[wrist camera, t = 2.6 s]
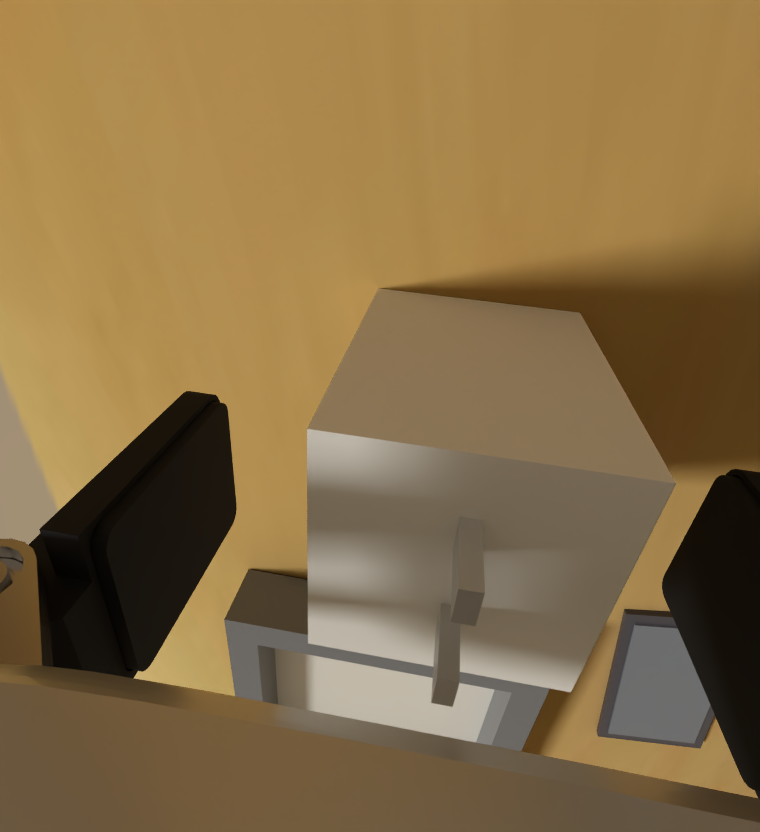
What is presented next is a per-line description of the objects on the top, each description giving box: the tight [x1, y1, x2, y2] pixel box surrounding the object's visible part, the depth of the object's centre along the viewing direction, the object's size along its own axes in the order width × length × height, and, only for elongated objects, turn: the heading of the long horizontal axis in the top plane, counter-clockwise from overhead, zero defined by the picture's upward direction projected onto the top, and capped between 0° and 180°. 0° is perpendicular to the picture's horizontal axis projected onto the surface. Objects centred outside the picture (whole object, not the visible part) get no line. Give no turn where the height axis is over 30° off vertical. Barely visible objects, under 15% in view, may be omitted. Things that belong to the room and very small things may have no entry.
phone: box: [597, 609, 715, 748], centre depth 17 cm, size 7×4×1 cm, turn 6°
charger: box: [307, 288, 676, 707], centre depth 9 cm, size 5×4×7 cm
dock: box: [224, 569, 550, 751], centre depth 18 cm, size 10×10×2 cm
